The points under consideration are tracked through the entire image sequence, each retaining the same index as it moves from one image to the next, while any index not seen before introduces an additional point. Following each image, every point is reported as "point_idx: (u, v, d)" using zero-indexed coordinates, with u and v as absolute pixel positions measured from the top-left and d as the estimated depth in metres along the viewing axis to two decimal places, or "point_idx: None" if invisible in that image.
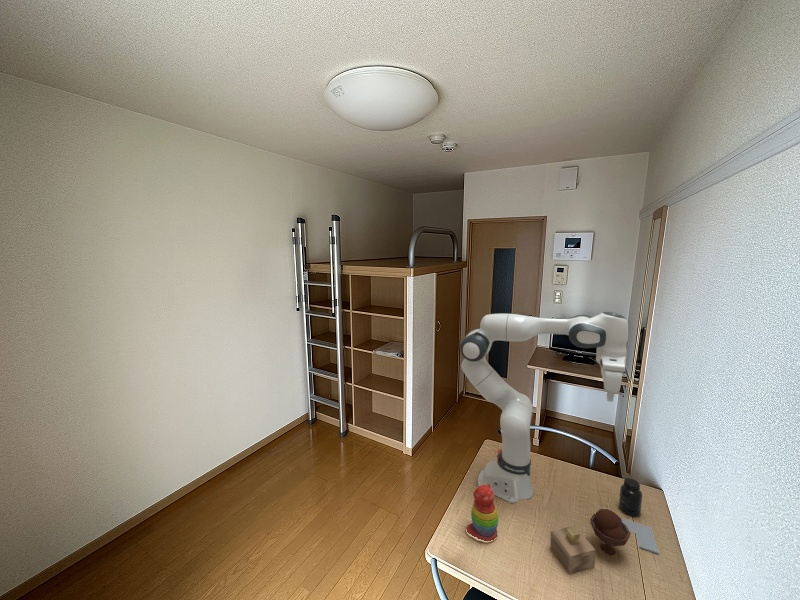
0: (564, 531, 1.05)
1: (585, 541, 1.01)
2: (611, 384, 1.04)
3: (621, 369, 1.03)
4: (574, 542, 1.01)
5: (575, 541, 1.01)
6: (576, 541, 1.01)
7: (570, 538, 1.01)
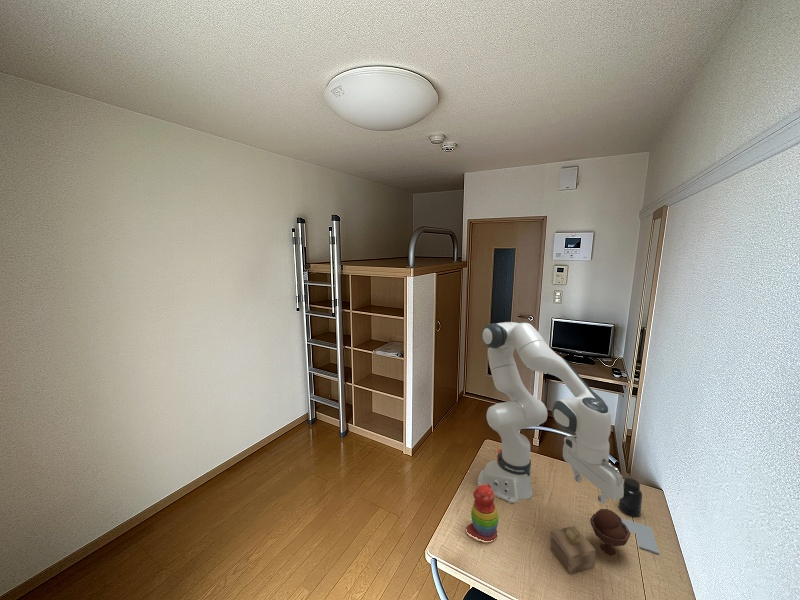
0: (564, 531, 1.05)
1: (585, 541, 1.01)
2: None
3: None
4: (574, 542, 1.01)
5: (575, 541, 1.01)
6: (576, 541, 1.01)
7: (570, 538, 1.01)
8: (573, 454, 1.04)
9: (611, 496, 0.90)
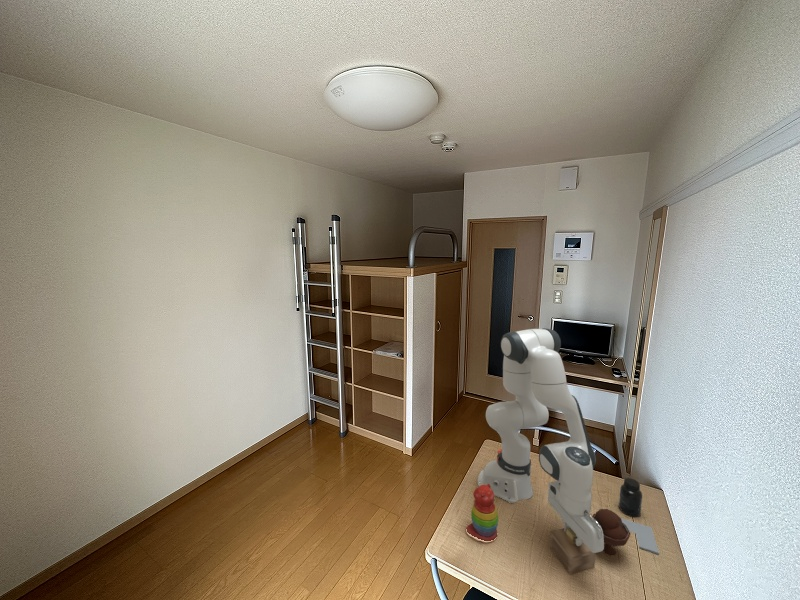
0: (564, 531, 1.05)
1: None
2: None
3: None
4: None
5: None
6: None
7: (570, 538, 1.01)
8: (557, 500, 1.06)
9: (591, 549, 0.92)
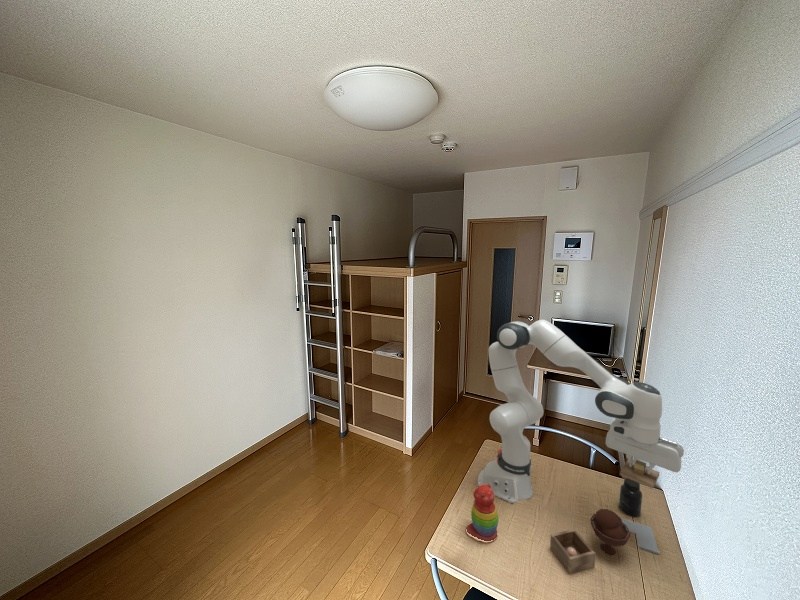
0: (627, 467, 1.09)
1: None
2: None
3: None
4: None
5: None
6: None
7: (641, 470, 1.05)
8: (620, 439, 1.09)
9: (675, 469, 0.98)
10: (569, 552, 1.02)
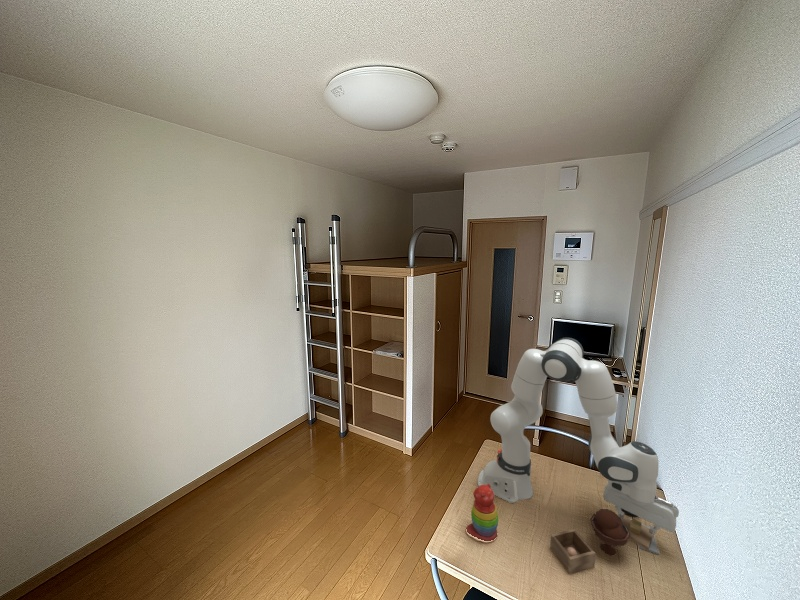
0: None
1: (642, 526, 1.12)
2: None
3: (608, 481, 1.14)
4: (639, 532, 1.10)
5: (640, 530, 1.10)
6: (640, 530, 1.10)
7: (637, 529, 1.09)
8: (618, 494, 1.12)
9: (671, 529, 1.02)
10: (569, 552, 1.02)
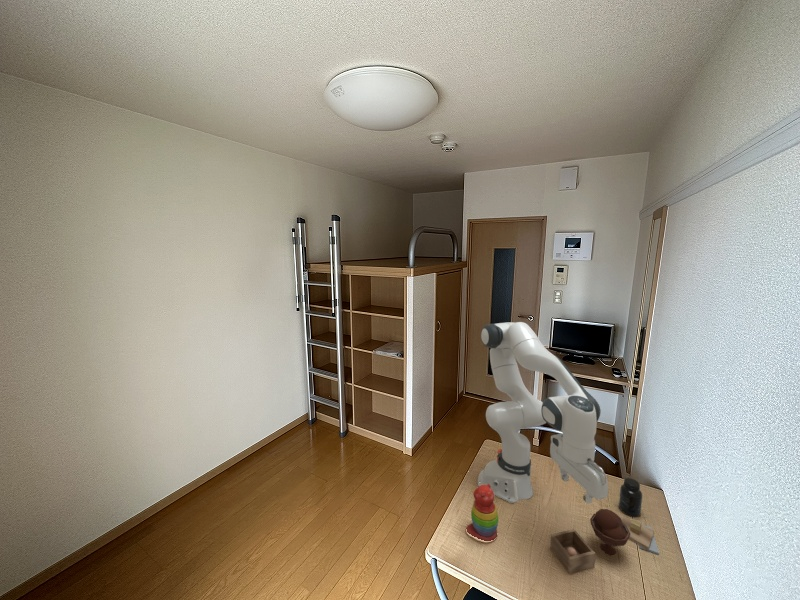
0: None
1: (642, 526, 1.12)
2: None
3: None
4: (639, 532, 1.10)
5: (640, 530, 1.10)
6: (640, 530, 1.10)
7: (637, 529, 1.09)
8: (560, 453, 1.03)
9: (595, 496, 0.89)
10: (569, 552, 1.02)
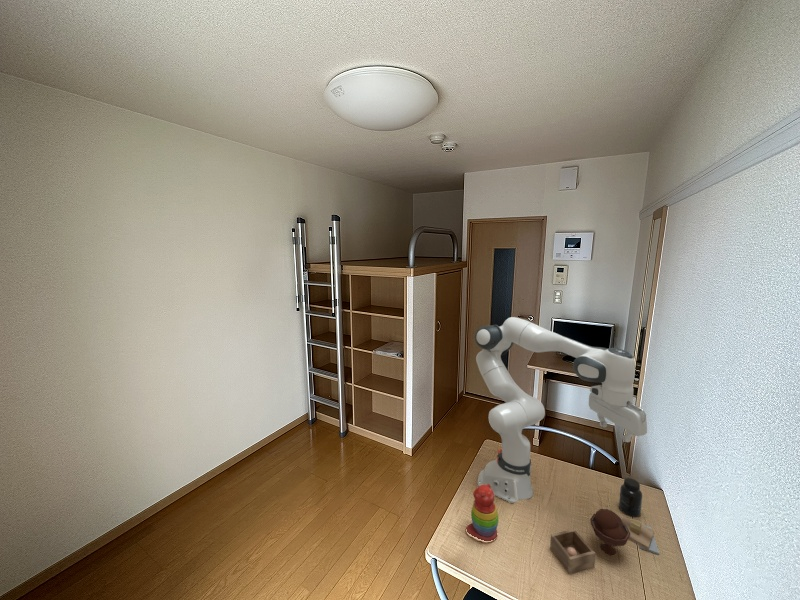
0: None
1: (642, 526, 1.12)
2: None
3: None
4: (639, 532, 1.10)
5: (640, 530, 1.10)
6: (640, 530, 1.10)
7: (637, 529, 1.09)
8: (599, 401, 1.14)
9: (635, 432, 1.00)
10: (569, 552, 1.02)
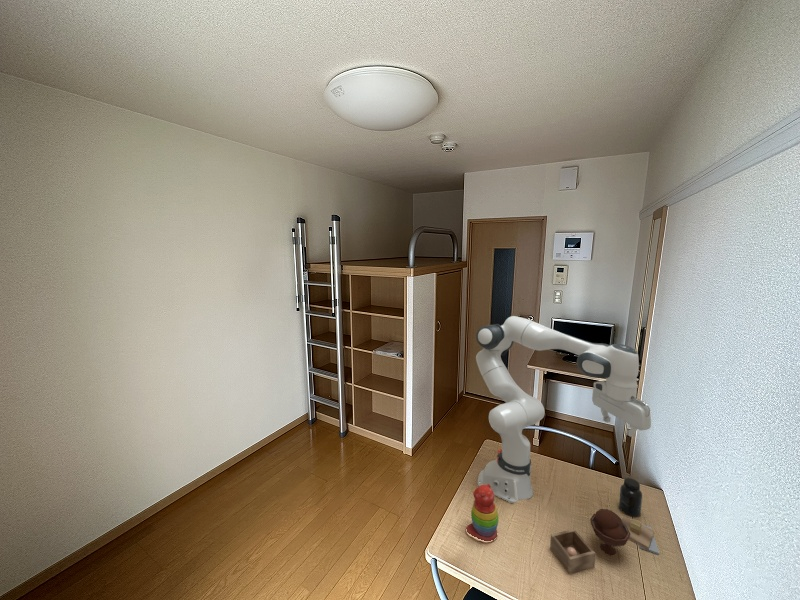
0: None
1: (642, 526, 1.12)
2: None
3: None
4: (639, 532, 1.10)
5: (640, 530, 1.10)
6: (640, 530, 1.10)
7: (637, 529, 1.09)
8: (602, 397, 1.15)
9: (639, 427, 1.02)
10: (569, 552, 1.02)
